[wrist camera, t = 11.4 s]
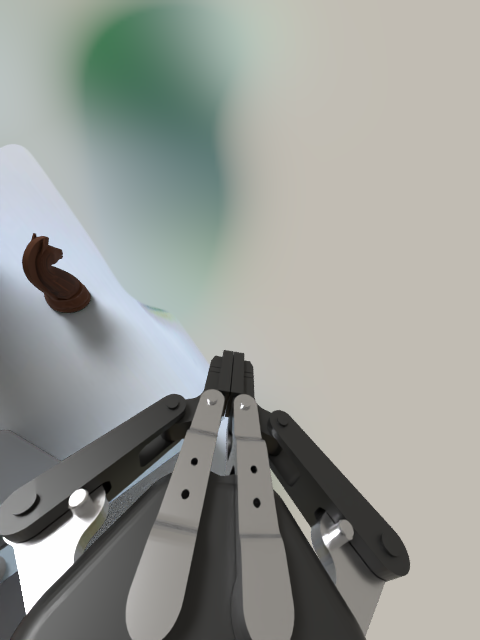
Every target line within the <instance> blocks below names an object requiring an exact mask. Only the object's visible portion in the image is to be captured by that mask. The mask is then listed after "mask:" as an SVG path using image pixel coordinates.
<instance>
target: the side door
mask: <svg viewBox="0 0 480 640" xmlns="http://www.w3.org/2000/svg"><path fill="white" fill-rule="evenodd" d="M223 419H225V418H224V417H223V416H222V419H221V421H222V420H223ZM183 442H184V439H181V441H180V442H179V443H178V444H176V445H175V446H174V447H173V448H172V449H171V450H169V451H168V452H167V453H166V454H165V455H164V456H162V457H161V458H160V459H159V460H158V461H157V462H155V463H154V464H153V465H152V466H151V467H150V468H149V469H147V470H146V471H145V472H144V473H143V474H142V475H140V476H139V477H138V478H137V479H136V480H135V481H133V482H132V483H131V484H130V485H129V486H128V487H126V488H125V489H124V490H123V491H122V492H121V493H119V494H118V495H117V496H116V497H115V498H114V499H112V500H111V501H110V502H112V501H113V500H115V499H116V498H117V497H119V496H120V495H121V494H123V493H124V492H125V491H127V490H128V489H129V488H131V487H132V486H134V485H135V484H136V483H138V482H139V481H140V480H142V479H143V478H144V477H146V476H147V475H149V474H150V473H151V472H153V471H154V470H155V469H157V468H158V467H159V466H161V465H162V464H163V463H165V462H166V461H168V460H169V459H170V458H172V457H173V456H174V455H176V454H177V453H178V452H180V450H181V447H182V444H183ZM110 502H109V503H110ZM17 571H18V566H17V560H16V555H15V549H14V547H12V546H11V545H9V544H8V543H7V542H6V543H4V544H3V545H2V546H0V584H1V583H2V582H3V581H5V580H6V579H7V578H9V577H10V576H11V575H13V574H14V573H15V572H17Z"/></svg>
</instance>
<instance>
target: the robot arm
mask: <svg viewBox="0 0 480 640" xmlns="http://www.w3.org/2000/svg"><path fill="white" fill-rule="evenodd" d="M233 353H234V355H233ZM253 378H254V376H253V366H252V364H251V363H250V361H244V353H239V352H233V351H226V350H224V352H223V357H219V356H215V357H214V358H213V359H212V360H211V364H210V368H209V372H208V376H207V380H206V384H205V389H204V391H203V393H202V394H201V395H200V396H198V397H196V398H193V399H186V400H185V399H184V398H183V397H182V396H181V395H178V394H171V395H168V396H166V397H164V398H162V399H161V400H159V401H158V402H156V403H154V404H153V405H151V406H150V407H148V408H146V409H145V410H143V411H142V412H140V413H138V414H137V415H135V416H134V417H132V418H130V419H129V420H127V421H126V422H124V423H122V424H121V425H119V426H118V427H116V428H114V429H113V430H111V431H109V432H108V433H106V434H105V435H103V436H101V437H100V438H98V439H97V440H95V441H93V442H92V443H90V444H89V445H87V446H85V447H84V448H82V449H81V450H79V451H77V452H76V453H74V454H73V455H71V456H69V457H68V458H66V459H65V460H63V461H61V462H60V463H58V464H57V465H55V466H53V467H52V468H50V469H49V470H47V471H45V472H44V473H42V474H41V475H39V476H37V477H36V478H34V479H32V480H31V481H29V482H28V483H26V484H24V485H23V486H21V487H20V488H18V489H17V490H16V491H14V492H13V493H12V494H11V495H10V496H9V497H8V498H7V499H6V500H5V501H4V502H3V503H2V505H1V506H0V536H2V537H3V538H4V540H5V541H6V542H7V543H8V544H9V545H11V546H12V547H14V549H15V555H16V560H17V566H18V571H19V577H20V582H21V587H22V593H23V598H24V604H25V609H26V615H25V617H24V618H23V620H22V621H21V623H20V624H19V626H18V627H17V629H16V630H15V632H14V634H13V635H12V637H11V639H10V640H366V638H365V636H366V633H367V630H368V627H369V625H370V622H371V619H372V617H373V614H374V611H375V608H376V606H377V603H378V600H379V597H380V595H381V592H382V589H383V586H384V584H385V582H387V581H390V580H393V579H395V578H398V577H402V576H405V575H406V574H408V572H409V569H410V561H409V556H408V553H407V550H406V548H405V546H404V544H403V542H402V541H401V539H400V537H399V536H398V535H397V533H396V532H395V531H394V530H393V529H392V528H391V526H390V525H389V524H388V523H387V522H386V521H385V520H384V519H383V518H382V517H381V516H380V514H379V513H378V512H377V511H376V510H375V509H374V508H373V507H372V506H371V505H370V503H369V502H368V501H367V500H366V499H365V498H364V497H363V496H362V495H361V493H360V492H358V490H357V489H356V488H355V487H354V486H353V485H352V484H351V483H350V481H349V480H348V479H347V478H346V477H345V476H344V475H343V474H342V473H341V472H340V470H339V469H338V468H337V467H336V466H335V465H334V464H333V463H332V462H331V461H330V459H329V458H328V457H327V456H326V455H325V454H324V453H323V452H322V451H321V450H320V448H319V447H318V446H317V445H316V444H315V443H314V442H313V441H312V440H311V439H310V437H309V436H308V435H307V434H306V433H305V432H304V431H303V430H302V429H301V428H300V427H299V425H298V424H297V423H296V422H295V421H294V420H293V419H292V418H291V417H290V416H289V415H288V414H287V413H286V412H283V411H281V410H277V411H274V412H272V413H270V412H268V411H266V410H264V409H262V408H261V407H260V406H259V405H258V404H257V403H256V401H255V398H254V379H253ZM225 410H226V411H225ZM224 414H225V417H229V418H228V426H227V432H226V467H225V475H224V476H219V475H217V474H215V473H213V472H211V471H210V469H211V464H212V459H213V454H214V449H215V444H216V440H217V434H218V429H219V426H220V423H221V419H222V416H223V417H224ZM181 439H184V442H183V444H182V447H181V450H180V453H179V456H178V459H177V461H176V464H175V467H174V470H173V473H170V474H168V475H166V476H164V477H163V478H161V479H159V480H158V481H157V482H155V483H154V484H153V485H152V486H151V487H150V488H149V489H148V490H147V491H146V492H145V493H144V494H143V495H142V496H141V497H140V498H139V499H138V500H137V501H136V502H135V503H134V504H133V505H132V506H131V507H130V508H129V509H128V510H127V511H126V512H125V513H124V514H123V515H122V516H121V517H120V518H119V519H118V520H117V521H116V522H115V523H114V524H113V525H112V526H111V527H110V528H109V529H108V530H107V531H106V532H105V533H103V534H102V535H101V536H100V537H99V538H98V539H97V540H96V541H95V542H94V543H93V544H92V545H91V546H90V547H89V548H88V549H87V550H86V551H85V552H84V550H85V548H86V546H87V544H88V543H89V541H90V539H91V538H92V537H93V536H94V534H95V533H96V532H97V531H98V530H99V529H100V528H101V526H102V525H103V523H104V522H105V520H106V518H107V515H108V512H109V502H110V501H111V500H112V499H114V498H115V497H116V496H117V495H118V494H119V493H121V492H122V491H123V490H124V489H125V488H126V487H128V486H129V485H130V484H131V483H132V482H133V481H135V480H136V479H137V478H138V477H139V476H140V475H142V474H143V473H144V472H145V471H146V470H147V469H149V468H150V467H151V466H152V465H153V464H154V463H155V462H157V461H158V460H159V459H160V458H161V457H162V456H164V455H165V454H166V453H167V452H168V451H169V450H171V449H172V448H173V447H174V446H175V445H176V444H178V443H179V442H180V441H181ZM270 468H271V470H272V471H273V473H274V474H275V475H276V477H277V478H278V480H279V481H280V483H281V484H282V486H283V487H284V489H285V490H286V492H287V493H288V495H289V496H290V497H291V499H292V500H293V501H294V503H295V505H296V506H297V507H298V509H299V511H300V512H301V513H302V515H303V516H304V518H305V519H306V521H307V522H308V524H309V525H310V527H311V528H312V529H311V540H312V544H313V547H314V549H315V552H316V553H315V552H314V550H313V548H312V547H311V545H310V544H309V542H308V541H307V539H306V537H305V536H304V534H303V532H302V531H301V529H300V527H299V526H298V524H297V523H296V521H295V519H294V518H293V516H292V515H291V513H290V511H289V510H288V508H287V507H286V505H285V503H284V502H283V500H282V499H281V498H280V496H279V495H278V494H277V493H276V492H275V491H274V490H273V487H272V480H271V474H270ZM316 554H317V555H318V557H319V558H318V557H317V555H316ZM319 559H320V560H319Z"/></svg>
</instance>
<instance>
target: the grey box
mask: <svg viewBox="0 0 480 640" xmlns="http://www.w3.org/2000/svg"><path fill="white" fill-rule="evenodd" d="M60 462H61V461H60V460H58V459H56V458H55V457H53V456H51V455H50V454H48V453H46V452H45V451H43V450H41V449H40V448H38V447H37V446H35V445H33V444H32V443H30V442H28V441H27V440H25V439H23V438H22V437H20V436H18V435H17V434H15V433H13V432H12V431H10V430H0V506H1V505H2V503H3V502H4V501H5V500H6V499H7V498H8V497H9V496H10V495H11V494H12V493H13V492H14V491H16V490H17V489H18V488H20V487H21V486H23V485H24V484H26V483H28V482H29V481H31V480H32V479H34V478H36V477H37V476H39V475H41V474H42V473H44V472H45V471H47V470H49V469H50V468H52V467H53V466H55V465H57V464H58V463H60ZM4 543H6V541H5V540H4V538H3V537H2V536H0V546H2V545H3V544H4Z"/></svg>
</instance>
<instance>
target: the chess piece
mask: <svg viewBox="0 0 480 640" xmlns="http://www.w3.org/2000/svg"><path fill="white" fill-rule="evenodd" d="M48 242H49V238H48V237H45V236H40V237H36V234H35V233H33V236H32V240H31V242H30V243H29V244H28V245H27V247H26V249H25V251H24V254H23V259H22V265H23V270H24V273H25V275H26V277H27V278H28V280H29V281H30V282H31V283H32V284H33V285H34V286H35V287H36V288H38V289H39V290H40V291H42V292H43V293H44V297H45V300H46V301H47V303H48V305H49V306H50V307H51V308H52V309H54V310H56V311H58V312H63V313H72V312H77V311H79V310H82V309H83V308H85V307H86V306H87V305H88V304H89V302H90V299H91V296H90V293H89V291H88V290H87V288H86V287H85V286H84V285H83V284H82V283H81V282H80V281H79V280H78V279H77V278H76V277H74V276H73V275H71V274H70V273H68V272H66V271H64V270H61V269H59V268H56V267H54V266H51V265H52V264H55V263H57V261H58V260H59V259H62V257H63V256H62V255H63V253H62V250H61V249H58V248H55V247H52V246H50V245H48Z"/></svg>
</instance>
